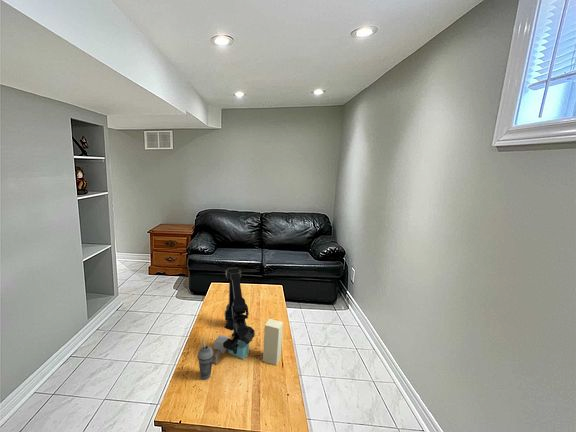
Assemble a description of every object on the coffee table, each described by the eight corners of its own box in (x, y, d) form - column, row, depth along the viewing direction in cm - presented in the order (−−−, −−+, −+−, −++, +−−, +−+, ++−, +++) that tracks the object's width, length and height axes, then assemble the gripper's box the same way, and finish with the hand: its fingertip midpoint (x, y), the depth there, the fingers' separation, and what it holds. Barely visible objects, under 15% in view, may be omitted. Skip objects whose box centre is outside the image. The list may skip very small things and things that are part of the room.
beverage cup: (204, 384, 123) (204, 346, 120) (194, 377, 127) (193, 339, 123) (216, 375, 129) (216, 337, 126) (206, 368, 133) (206, 332, 129)
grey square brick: (213, 350, 146) (213, 341, 145) (219, 344, 152) (220, 334, 150) (223, 353, 144) (223, 343, 143) (229, 346, 150) (229, 337, 149)
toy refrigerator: (281, 356, 144) (283, 321, 140) (276, 365, 137) (278, 328, 134) (268, 352, 147) (269, 317, 143) (262, 361, 140) (264, 325, 136)
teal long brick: (228, 352, 145) (228, 342, 144) (234, 347, 149) (234, 337, 148) (242, 359, 141) (243, 349, 139) (248, 353, 145) (248, 344, 144)
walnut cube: (207, 363, 137) (207, 354, 136) (212, 356, 142) (212, 348, 141) (216, 365, 136) (216, 356, 135) (220, 358, 140) (220, 350, 140)
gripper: (240, 339, 130) (239, 367, 133) (261, 321, 146) (260, 346, 149) (222, 332, 135) (222, 359, 138) (245, 315, 151) (244, 339, 154)
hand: (238, 351), depth 145 cm, fingers closed on teal long brick, 5 cm apart
